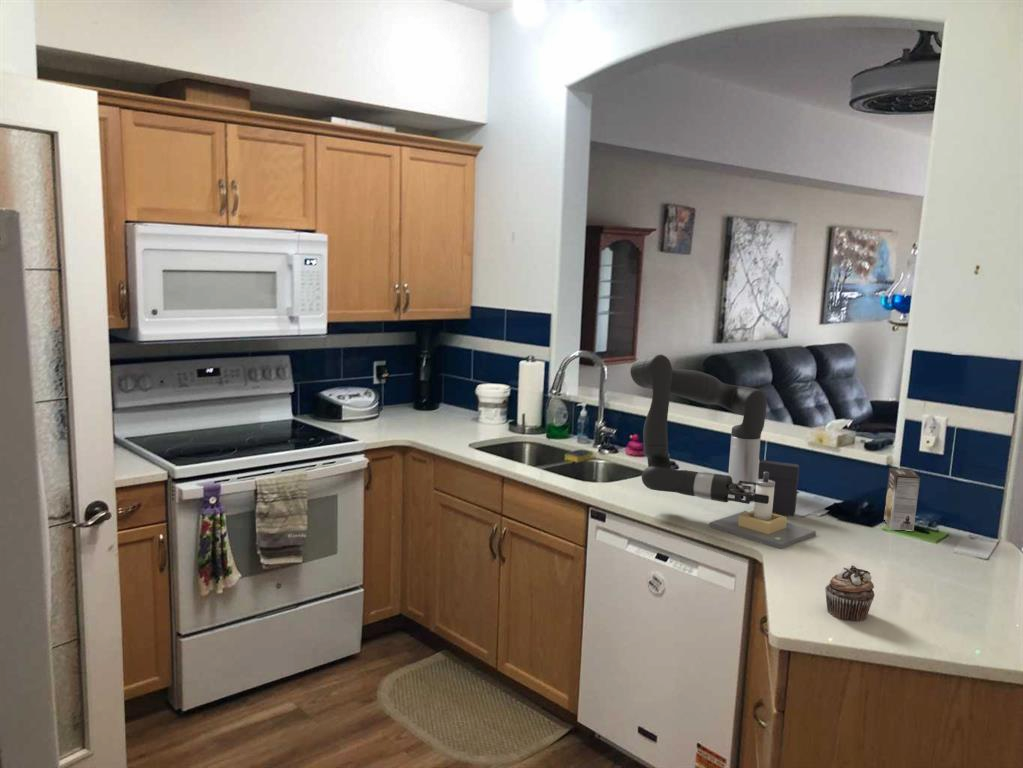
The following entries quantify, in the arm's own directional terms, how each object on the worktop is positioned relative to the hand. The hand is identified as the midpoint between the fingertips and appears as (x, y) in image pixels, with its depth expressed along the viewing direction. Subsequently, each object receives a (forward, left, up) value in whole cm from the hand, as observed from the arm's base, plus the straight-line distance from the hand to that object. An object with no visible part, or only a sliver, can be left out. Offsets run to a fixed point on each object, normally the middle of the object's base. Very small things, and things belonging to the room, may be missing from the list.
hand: (771, 496), depth 224 cm
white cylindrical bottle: (+1, -2, -9) cm, 9 cm away
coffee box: (-35, +20, -10) cm, 42 cm away
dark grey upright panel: (-18, -9, -10) cm, 23 cm away
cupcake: (+35, +39, -10) cm, 53 cm away
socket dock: (+1, -2, -10) cm, 10 cm away
